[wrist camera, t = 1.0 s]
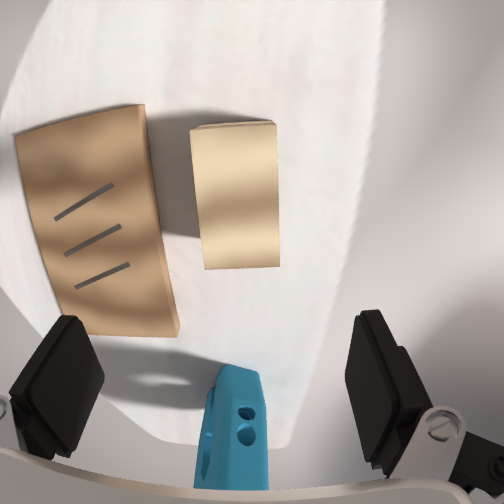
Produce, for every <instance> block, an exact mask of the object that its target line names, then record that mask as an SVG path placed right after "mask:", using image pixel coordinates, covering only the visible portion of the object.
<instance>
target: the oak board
mask: <svg viewBox="0 0 504 504" xmlns="http://www.w3.org/2000/svg"><path fill="white" fill-rule="evenodd" d="M15 140H16V147H17V153H18V159H19V165H20V170H21V175H22V180H23V185H24V190H25V194H26V199H27V203H28V207H29V211H30V215H31V219H32V223H33V226H34V230H35V233H36V237H37V240H38V244H39V247H40V250H41V253H42V257H43V260H44V263H45V266H46V269H47V272H48V275H49V277H50V280H51V283H52V286H53V289H54V291H55V294H56V297H57V299H58V302H59V304H60V307H61V309H62V312H63V314H64V315H75V316H77V317H78V318H79V320H81V321H82V322H83V325H84V327H85V330H86V332H87V334H89V335H106V336H128V337H167V338H177V336H178V332H179V329H180V323H179V319H178V314H177V310H176V305H175V300H174V296H173V291H172V286H171V281H170V276H169V271H168V266H167V261H166V255H165V250H164V244H163V239H162V233H161V227H160V221H159V215H158V208H157V202H156V195H155V188H154V181H153V174H152V166H151V158H150V150H149V142H148V133H147V123H146V113H145V105H136V106H130V107H125V108H120V109H115V110H110V111H105V112H100V113H96V114H92V115H87V116H83V117H79V118H75V119H71V120H67V121H63V122H60V123H56V124H52V125H49V126H45V127H42V128H39V129H35V130H32V131H29V132H26V133H23V134H20V135H17V136H15Z"/></svg>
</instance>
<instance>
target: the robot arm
mask: <svg viewBox="0 0 504 504" xmlns="http://www.w3.org/2000/svg"><path fill="white" fill-rule="evenodd" d="M103 382H104V372H103V370H102V368H101V365H100V363H99V361H98V359H97V356H96V354H95V352H94V349H93V347H92V345H91V342H90V340H89V337H88V335H87V332H86V330H85V327H84V325H83V322H82V321H81V320H79V318H78V317H77V316H75V315H61V316H60V317H59V318H58V320H57V321H56V322H55V324H54V325H53V327H52V328H51V329H50V331H49V332H48V334H47V335H46V336H45V338H44V339H43V341H42V342H41V344H40V345H39V346H38V348H37V349H36V351H35V352H34V354H33V355H32V357H31V358H30V360H29V361H28V363H27V364H26V366H25V367H24V369H23V370H22V372H21V373H20V375H19V377H18V378H17V380H16V381H15V383H14V384H13V386H12V387H11V389H10V391H9V394H10V395H11V399H10V400H9V399H8V398H7V397H5V396H2V395H0V504H504V446H501V445H499V444H496V443H494V442H491V441H488V440H486V439H484V438H482V437H479V436H476V435H474V434H472V433H469V432H467V431H466V423H465V420H464V418H463V417H462V415H461V414H460V413H459V412H458V411H457V410H455V409H453V408H451V407H447V406H436V407H433V405H432V403H431V401H430V398H429V396H428V394H427V392H426V390H425V388H424V385H423V383H422V381H421V379H420V377H419V375H418V373H417V371H416V369H415V367H414V365H413V363H412V361H411V359H410V357H409V355H408V353H407V351H406V349H405V348H404V347H403V346H397V344H396V341H395V340H394V338H393V336H392V333H391V331H390V330H389V327H388V325H387V324H386V322H385V320H384V318H383V316H382V314H381V312H380V310H378V309H376V310H364V311H361V313H360V315H358V316H356V317H355V321H354V327H353V333H352V339H351V344H350V349H349V355H348V360H347V365H346V370H345V383H346V387H347V390H348V394H349V398H350V402H351V406H352V409H353V413H354V417H355V421H356V425H357V429H358V434H359V437H360V442H361V446H362V450H363V454H364V458H365V461H366V462H371V466H372V470H374V469H379V468H382V470H383V474H384V475H386V477H385V479H381V480H373V481H366V482H358V483H350V484H342V485H334V486H325V487H315V488H302V489H287V490H261V491H236V490H210V489H195V488H184V487H174V486H165V485H158V484H150V483H144V482H138V481H132V480H127V479H121V478H116V477H111V476H107V475H102V474H98V473H93V472H89V471H85V470H81V469H77V468H74V467H70V466H67V465H63V464H60V463H56V462H55V459H54V455H55V453H56V454H57V455H59V456H63V457H66V458H70V456H71V453H72V452H73V451H75V450H76V448H77V445H78V443H79V440H80V437H81V435H82V432H83V430H84V427H85V425H86V422H87V420H88V417H89V415H90V412H91V410H92V408H93V406H94V403H95V401H96V399H97V396H98V394H99V392H100V389H101V387H102V385H103Z"/></svg>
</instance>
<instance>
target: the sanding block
mask: <svg viewBox="0 0 504 504" xmlns="http://www.w3.org/2000/svg"><path fill="white" fill-rule="evenodd" d="M190 141H191V153H192V163H193V173H194V183H195V193H196V202H197V211H198V219H199V228H200V236H201V244H202V252H203V260H204V267H205V270H212V269H239V268H264V267H280V245H279V193H278V157H277V128H276V124H275V123H274V122H273V121H272V120H265V121H243V122H227V123H214V124H202V125H200V126H198V127H196V128H194V129H192V130H190Z"/></svg>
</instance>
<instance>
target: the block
mask: <svg viewBox="0 0 504 504" xmlns="http://www.w3.org/2000/svg"><path fill="white" fill-rule="evenodd" d="M193 488H195V489H210V490H236V491H261V490H269V486H268V451H267V419H266V405H265V400H264V395H263V391H262V386H261V381H260V376H259V374H258V373H257V372H255V371H252V370H248V369H244V368H241V367H237V366H233V365H225V366H223V367H222V369H221V371H220V373H219V375H218V377H217V380H216V388H211V390H210V392H209V394H208V396H207V401H206V407H205V412H204V417H203V422H202V428H201V433H200V439H199V445H198V454H197V462H196V470H195V479H194V487H193Z"/></svg>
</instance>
